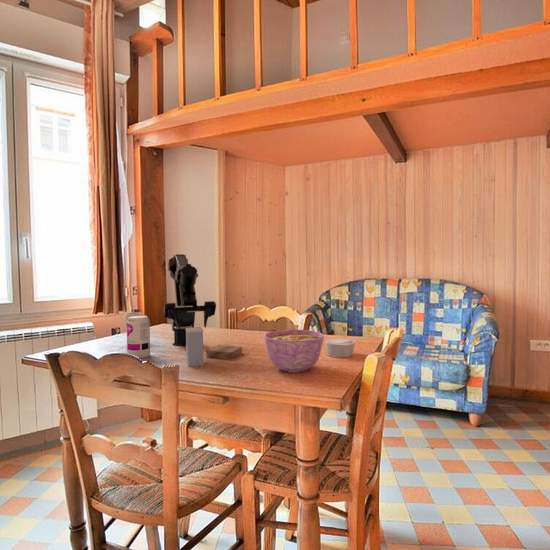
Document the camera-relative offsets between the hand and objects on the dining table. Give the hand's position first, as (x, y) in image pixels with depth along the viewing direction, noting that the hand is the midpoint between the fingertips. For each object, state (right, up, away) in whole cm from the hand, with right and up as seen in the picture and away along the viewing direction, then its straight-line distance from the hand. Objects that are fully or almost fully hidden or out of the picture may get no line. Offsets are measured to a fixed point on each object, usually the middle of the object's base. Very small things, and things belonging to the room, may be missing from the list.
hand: (192, 327), depth 161 cm
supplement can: (-22, -12, +8) cm, 26 cm away
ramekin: (+54, -12, +9) cm, 56 cm away
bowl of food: (+36, -13, -11) cm, 40 cm away
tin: (+1, -12, -4) cm, 13 cm away
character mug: (-31, -11, +32) cm, 46 cm away
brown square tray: (+11, -12, +9) cm, 18 cm away
